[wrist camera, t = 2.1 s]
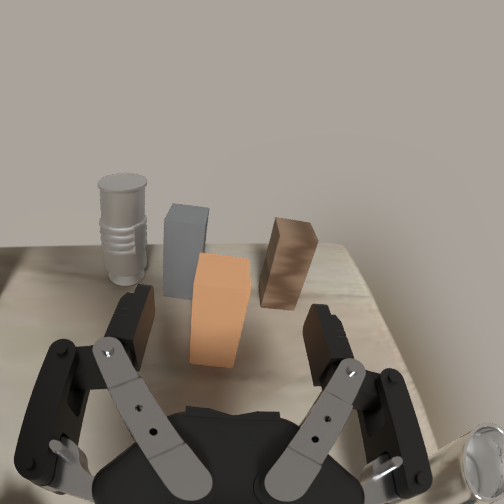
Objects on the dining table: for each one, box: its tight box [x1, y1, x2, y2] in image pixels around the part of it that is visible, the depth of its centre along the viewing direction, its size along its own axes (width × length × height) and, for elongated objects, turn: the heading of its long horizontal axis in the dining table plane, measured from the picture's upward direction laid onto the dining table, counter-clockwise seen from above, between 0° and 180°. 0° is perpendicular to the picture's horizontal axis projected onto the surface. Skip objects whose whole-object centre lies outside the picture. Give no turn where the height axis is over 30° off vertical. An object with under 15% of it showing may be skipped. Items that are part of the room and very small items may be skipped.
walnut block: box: [259, 217, 318, 310], centre depth 40 cm, size 5×5×12 cm
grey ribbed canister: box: [98, 173, 147, 286], centre depth 37 cm, size 7×7×15 cm
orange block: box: [190, 252, 251, 368], centre depth 30 cm, size 5×5×12 cm
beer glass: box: [398, 423, 504, 504], centre depth 13 cm, size 7×7×15 cm
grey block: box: [163, 204, 209, 300], centre depth 38 cm, size 5×5×12 cm
